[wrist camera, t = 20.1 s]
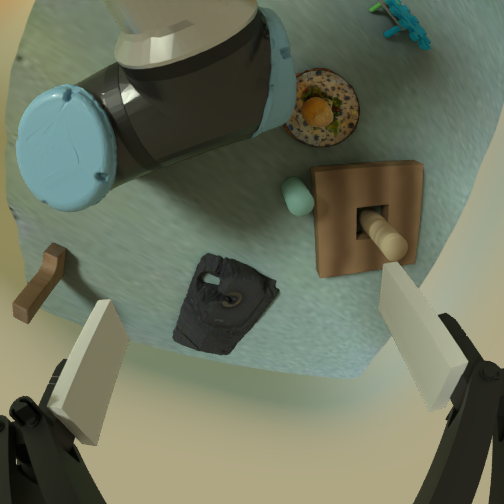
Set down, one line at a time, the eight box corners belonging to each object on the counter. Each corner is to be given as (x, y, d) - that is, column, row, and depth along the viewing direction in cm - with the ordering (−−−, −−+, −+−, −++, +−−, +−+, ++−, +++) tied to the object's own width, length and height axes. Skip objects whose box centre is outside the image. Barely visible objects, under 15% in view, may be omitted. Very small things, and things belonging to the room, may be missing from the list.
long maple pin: (356, 226, 51) (383, 262, 41) (356, 206, 49) (385, 239, 39) (375, 224, 51) (406, 259, 40) (376, 204, 49) (409, 236, 39)
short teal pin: (282, 200, 49) (288, 217, 42) (279, 178, 47) (286, 192, 41) (305, 197, 49) (314, 214, 42) (303, 175, 47) (313, 189, 41)
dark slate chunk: (161, 329, 61) (157, 346, 57) (208, 243, 52) (205, 258, 48) (228, 356, 65) (228, 372, 61) (286, 280, 56) (290, 296, 52)
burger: (357, 144, 45) (376, 153, 38) (282, 150, 45) (290, 160, 39) (352, 68, 39) (371, 65, 33) (273, 71, 39) (279, 67, 33)
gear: (438, 43, 34) (429, 51, 30) (410, 57, 39) (396, 68, 35) (396, -12, 31) (379, -15, 27) (370, 4, 36) (349, 6, 32)
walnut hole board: (316, 268, 55) (319, 278, 52) (310, 167, 46) (314, 172, 44) (407, 255, 54) (414, 263, 52) (414, 159, 46) (423, 164, 43)
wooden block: (63, 275, 54) (28, 325, 40) (50, 269, 53) (13, 317, 40) (66, 248, 51) (26, 295, 38) (52, 241, 50) (10, 287, 37)
